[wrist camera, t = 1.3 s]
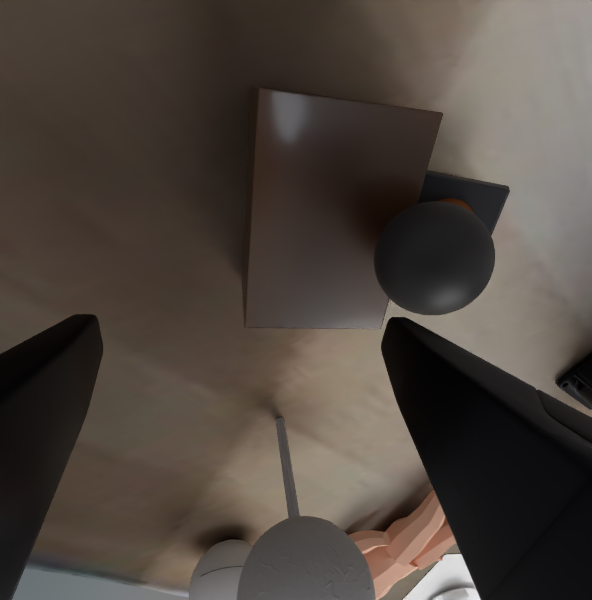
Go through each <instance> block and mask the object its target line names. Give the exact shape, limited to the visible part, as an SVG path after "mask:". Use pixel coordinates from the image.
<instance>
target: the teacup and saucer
mask: <svg viewBox="0 0 592 600" xmlns="http://www.w3.org/2000/svg"><path fill="white" fill-rule="evenodd" d="M477 596H478V592H477V590H476V588H474V587H470V586H464V587H457V588H453V589H450V590H447V591H445V592H442V593H440V594H438V595H437V596H435V597H433V598H432V599H431V600H474V599H475V598H476V597H477Z"/></svg>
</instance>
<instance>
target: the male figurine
mask: <svg viewBox="0 0 592 600" xmlns="http://www.w3.org/2000/svg"><path fill="white" fill-rule="evenodd" d="M348 536H349V537H350V538H351V539H352V540H353V541H354V543H355V544H356V545H357V547H358V548H359V549H360V551H361V552H362V553H363V555H364V557H365V559H366V561H367V563H368V566H369V569H370V572H371V575H372V580H373V583H374V589H375V597H376V600H378V599H380V598H382V597H383V596H384V595H385V594H386V593H387V592H388V591H389V590H390V588H391V587H392V586H393V585H394V583H396V582H397V581H399V580H400V579H402V578H404V577H405V576H407V575H409V574H410V573H412V572H413V571H414V570H416V569H417V568H419V569H420V570H423V569H424V568H426V567H427V566H429V565H430V564H432V563H434V562H435V561H442V560H443V555H442V554H443V553H445V552H446V551H447V550H448V549H449V548H450V547H451V546H452V545H454V544H455V543H456V540H455V538H454V536H453V533H452V531H451V529H450V526H449V524H448V522H447V519H446V517H445V514H444V512H443V510H442V507H441V505H440V503H439V500H438V498H437V496H436V493H435V491H434V489H433V490H432V491H431V492H430V493H429V495H428V496H427V497H426V498H425V500H424V501H423V502H422V503H421V505H420V506H419V507H418V508H417V509H416V510H415V511H414V512H412V513H411V514H410V515H409V516H408V517H405V518H400V519H397V520H396V521H395V522H393V523H392V524H391V525H390V527H389V528H388V529H387V530H386V531H385V532H381V531H374V530H367V531H358V532H355V533H352V534H350V535H348Z"/></svg>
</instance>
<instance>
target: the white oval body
mask: <svg viewBox="0 0 592 600" xmlns="http://www.w3.org/2000/svg"><path fill="white" fill-rule="evenodd" d="M252 548H253V546H251V545H250V544H249V543H247V542H245V541H242V540H226V541H223V542H219V543H217V544H215V545H213V546H212V547H211V548H210V549H209V550H208V551H207V552H206V553H205V554H204V555H203V556H202V557H201V558H200V560H199V562H198V564H197V566H196V568H195V570H194V572H193V574H192V577H191V582H190V587H189V600H237V591H238V584H239V580H240V575H241V572H242V569H243V566H244V564H245V561H246V559H247V557H248V555H249V553H250V551H251V549H252Z"/></svg>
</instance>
